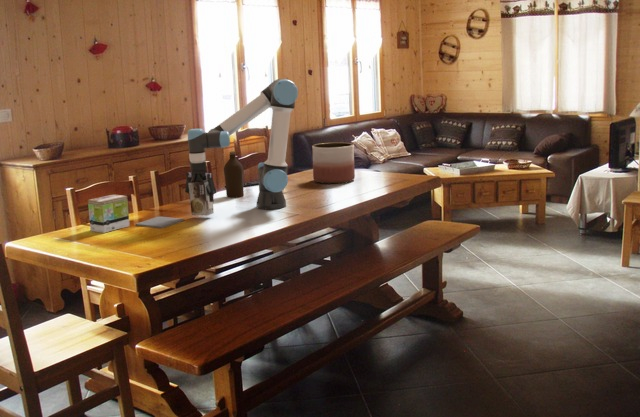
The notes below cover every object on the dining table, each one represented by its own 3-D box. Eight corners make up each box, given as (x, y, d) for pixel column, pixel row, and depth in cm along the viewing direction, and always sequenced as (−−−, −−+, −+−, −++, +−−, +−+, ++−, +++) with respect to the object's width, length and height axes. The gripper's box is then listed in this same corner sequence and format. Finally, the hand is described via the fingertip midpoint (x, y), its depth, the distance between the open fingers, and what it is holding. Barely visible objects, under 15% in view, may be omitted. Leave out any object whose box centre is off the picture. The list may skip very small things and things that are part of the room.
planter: (355, 183, 400) (354, 146, 395) (312, 185, 401) (311, 148, 396) (354, 176, 425) (353, 141, 420) (313, 178, 425) (312, 143, 421)
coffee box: (214, 212, 327) (211, 180, 323) (207, 215, 321) (204, 182, 317) (197, 212, 330) (194, 179, 326) (190, 215, 324) (187, 182, 320)
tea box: (105, 233, 303) (101, 201, 300) (90, 231, 308) (86, 199, 305) (130, 226, 315) (127, 195, 312) (115, 224, 320) (112, 193, 317)
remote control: (224, 188, 403) (224, 185, 403) (270, 181, 421) (270, 178, 420) (230, 190, 397) (230, 187, 397) (277, 183, 414) (276, 180, 414)
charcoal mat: (184, 220, 322) (184, 218, 322) (162, 228, 308) (161, 226, 308) (159, 217, 330) (158, 216, 329) (135, 225, 316) (135, 223, 316)
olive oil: (232, 199, 369) (229, 153, 363) (222, 196, 377) (219, 152, 371) (248, 196, 375) (245, 151, 370) (238, 193, 383) (235, 149, 378)
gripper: (221, 161, 318) (225, 207, 323) (184, 159, 328) (188, 204, 333) (211, 163, 311) (215, 210, 316) (174, 162, 322) (179, 207, 327)
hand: (202, 207), depth 325 cm, fingers closed on coffee box, 10 cm apart
